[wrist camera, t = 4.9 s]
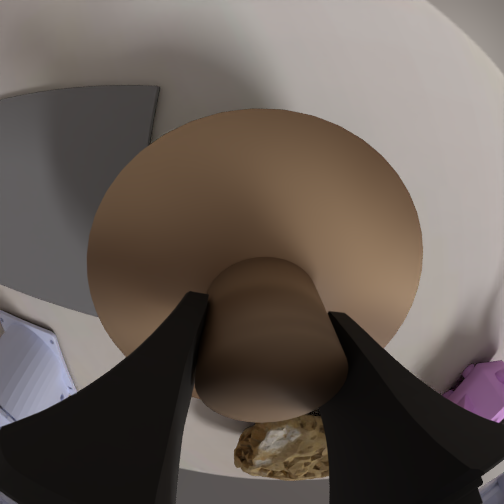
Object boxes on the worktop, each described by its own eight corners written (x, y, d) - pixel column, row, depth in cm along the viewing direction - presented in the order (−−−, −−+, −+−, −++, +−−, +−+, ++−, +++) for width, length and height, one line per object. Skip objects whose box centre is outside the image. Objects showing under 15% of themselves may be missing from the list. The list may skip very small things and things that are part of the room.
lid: (342, 395, 14) (362, 455, 10) (111, 371, 12) (89, 437, 8) (451, 174, 8) (530, 210, 5) (105, 89, 7) (19, 77, 3)
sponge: (233, 430, 27) (369, 461, 27) (222, 482, 19) (379, 502, 19) (286, 348, 24) (431, 395, 24) (288, 404, 16) (457, 436, 16)
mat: (142, 324, 18) (140, 327, 17) (-2, 280, 16) (-4, 282, 16) (159, 87, 11) (157, 86, 11) (-13, 103, 10) (-16, 104, 9)
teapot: (480, 326, 20) (528, 388, 11) (519, 329, 22) (554, 373, 13) (394, 427, 27) (415, 484, 18) (449, 415, 29) (470, 458, 20)
